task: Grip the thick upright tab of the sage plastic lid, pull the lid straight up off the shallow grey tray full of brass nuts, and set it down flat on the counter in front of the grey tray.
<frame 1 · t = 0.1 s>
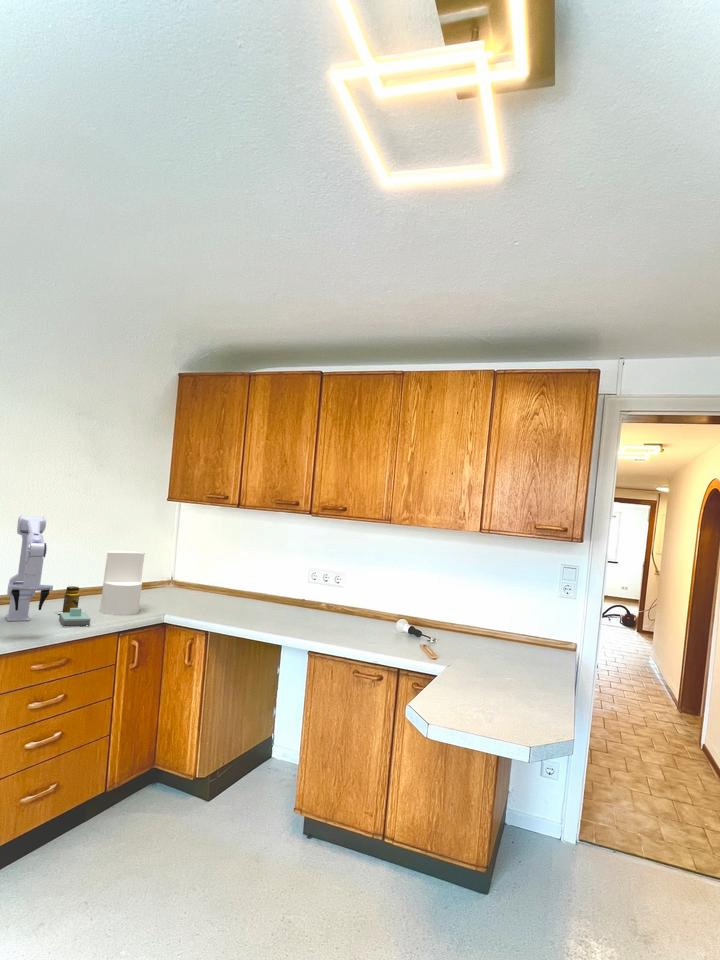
hand: (28, 609, 213), 10 cm above the countertop, tool pointing down, fingers open, 7 cm apart
grey tray: (74, 623, 239), on the countertop
condiment: (67, 614, 253), on the countertop
lid: (74, 618, 239), point 2 cm above the countertop, touching grey tray
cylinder: (119, 611, 269), on the countertop
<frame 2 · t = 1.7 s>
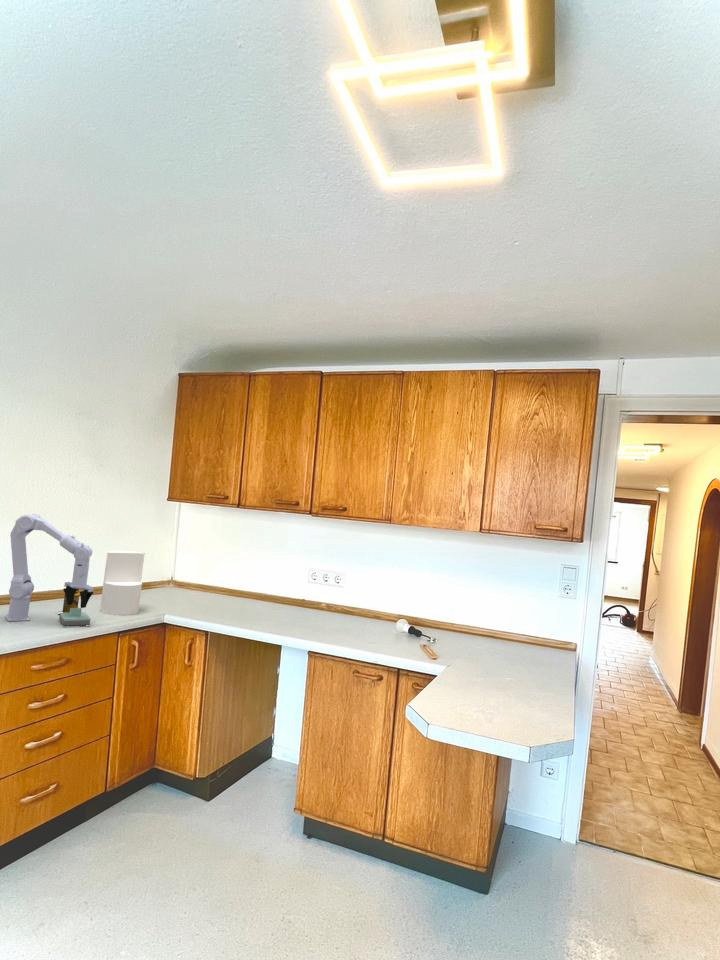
hand: (76, 606, 239), 7 cm above the countertop, tool pointing down, fingers open, 7 cm apart
nothing on the countertop moved.
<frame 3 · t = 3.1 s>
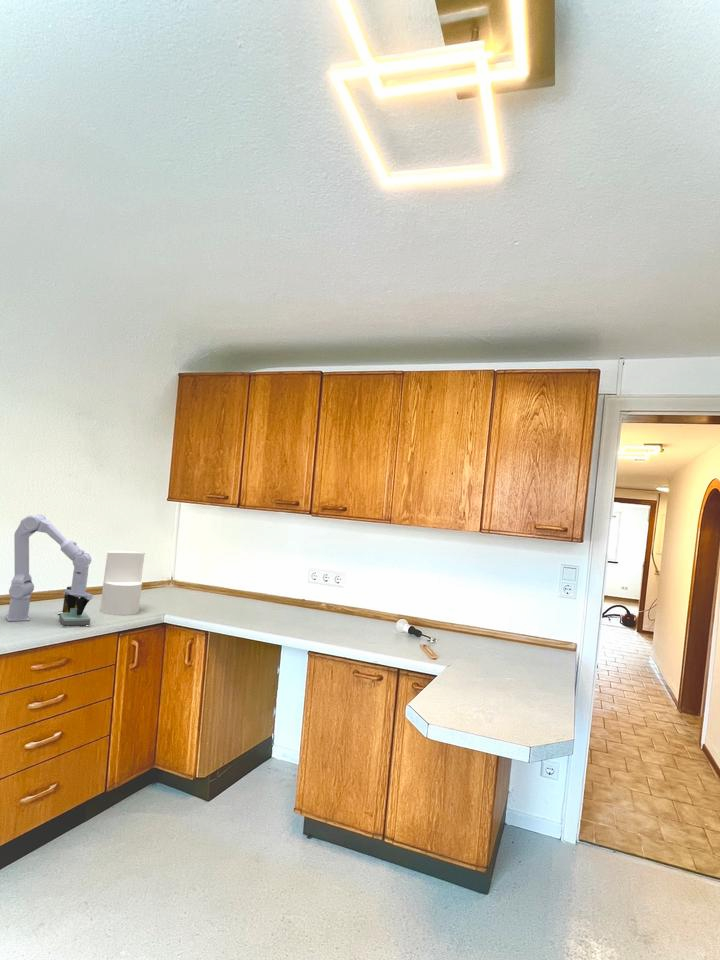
hand: (75, 613, 239), 4 cm above the countertop, tool pointing down, fingers closed on lid, 4 cm apart
lid: (74, 618, 239), point 2 cm above the countertop, touching gripper, grey tray
everything else where it was.
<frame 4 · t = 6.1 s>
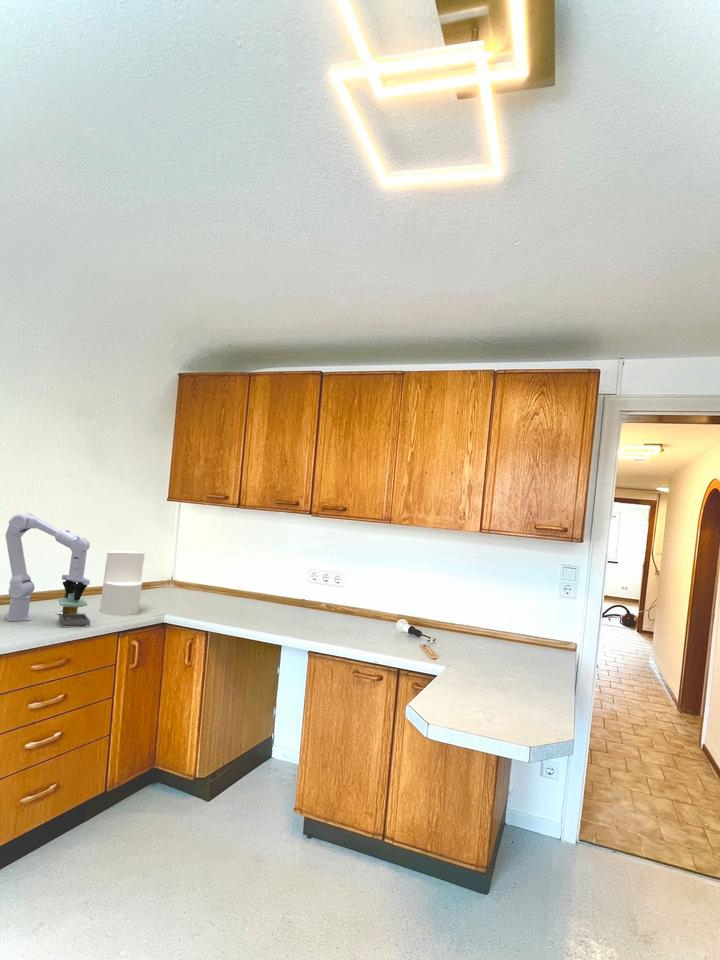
hand: (72, 599, 238), 10 cm above the countertop, tool pointing down, fingers closed on lid, 4 cm apart
lid: (72, 604, 238), point 8 cm above the countertop, touching gripper
everything else where it was.
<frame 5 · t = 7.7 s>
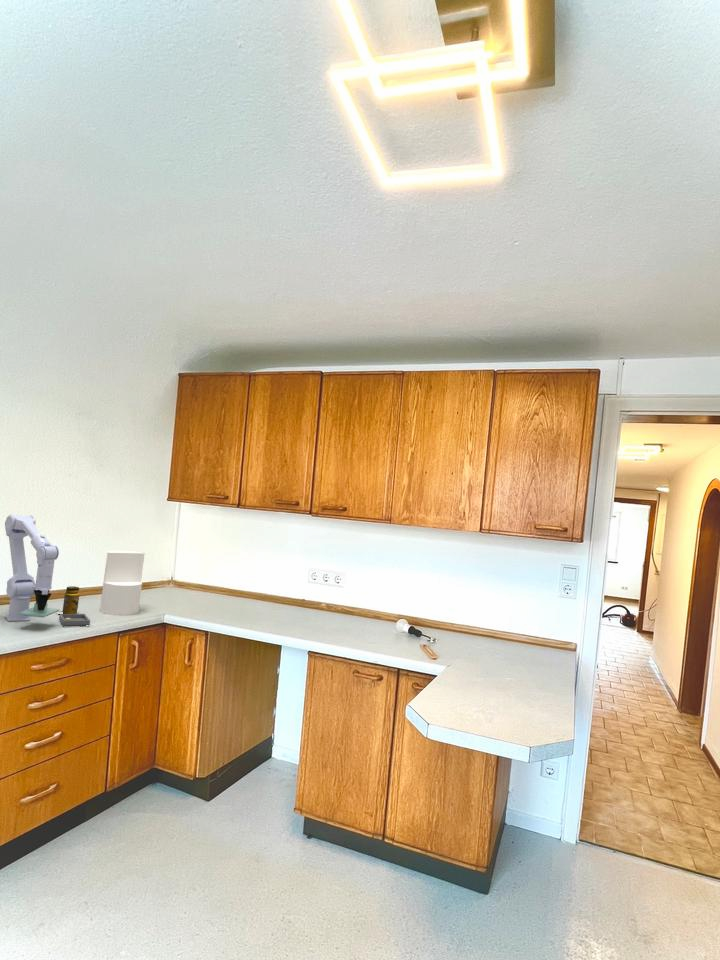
hand: (40, 608, 228), 7 cm above the countertop, tool pointing down, fingers closed on lid, 4 cm apart
lid: (39, 614, 228), point 5 cm above the countertop, touching gripper
everything else where it was.
when the fingers open (4 cm above the countertop, at t = 9.2 s): lid drops 2 cm, on the countertop.
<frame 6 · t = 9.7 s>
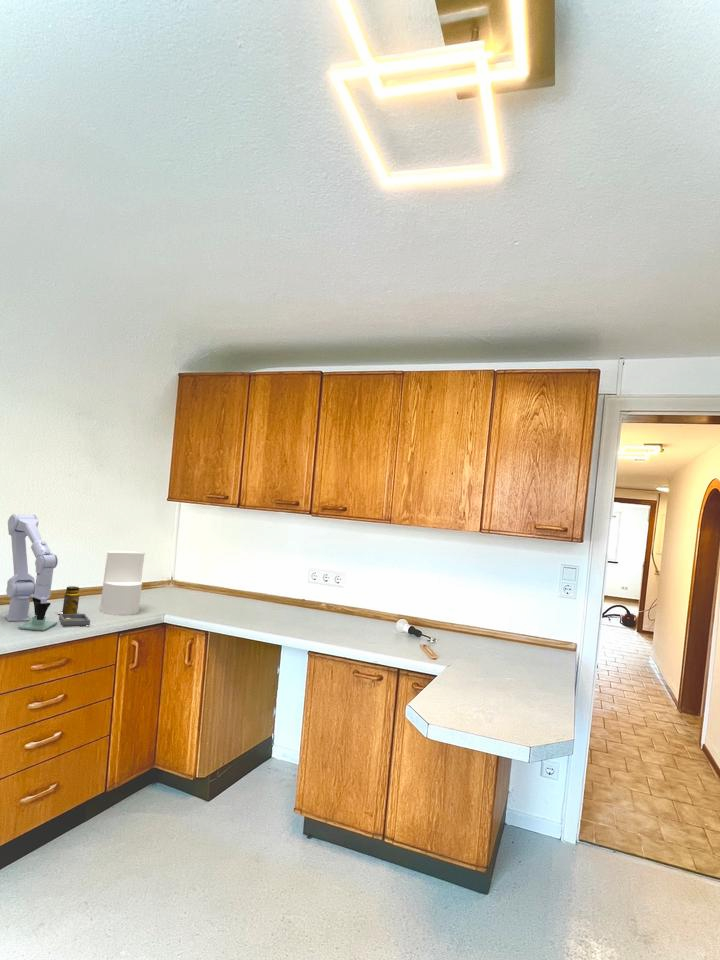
hand: (38, 617, 228), 4 cm above the countertop, tool pointing down, fingers open, 7 cm apart
lid: (37, 627, 227), on the countertop
everything else where it was.
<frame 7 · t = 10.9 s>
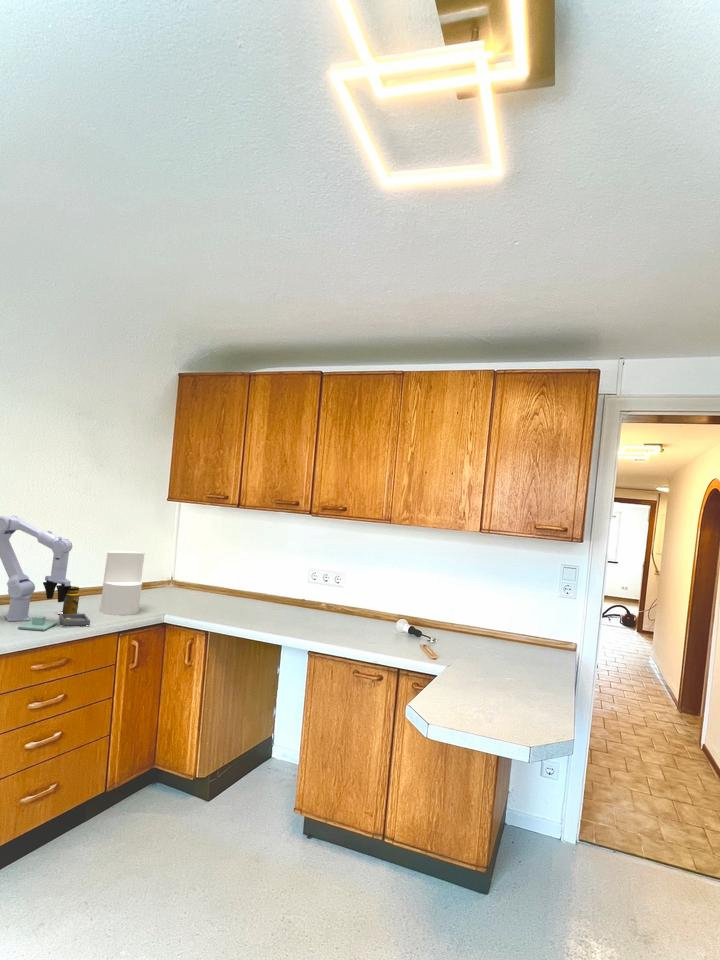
hand: (55, 600, 236), 9 cm above the countertop, tool pointing down, fingers open, 7 cm apart
nothing on the countertop moved.
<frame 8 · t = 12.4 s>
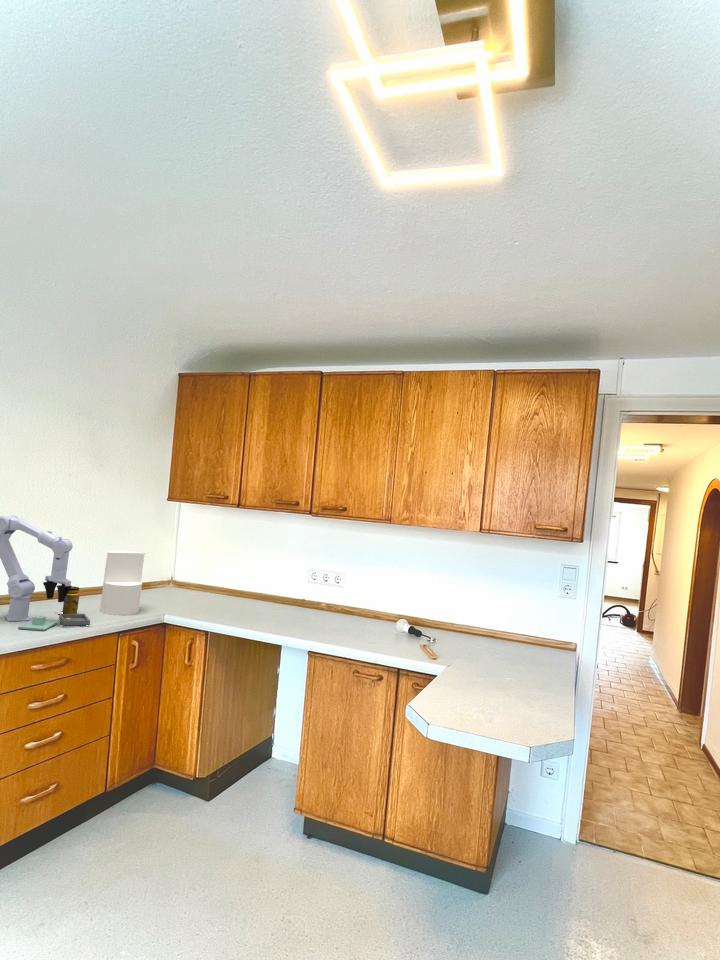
hand: (55, 600, 236), 9 cm above the countertop, tool pointing down, fingers open, 7 cm apart
nothing on the countertop moved.
at the end: lid inside the target area (0.1 cm from its centre), on the countertop; lid touching countertop; lid tilted 0° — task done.
